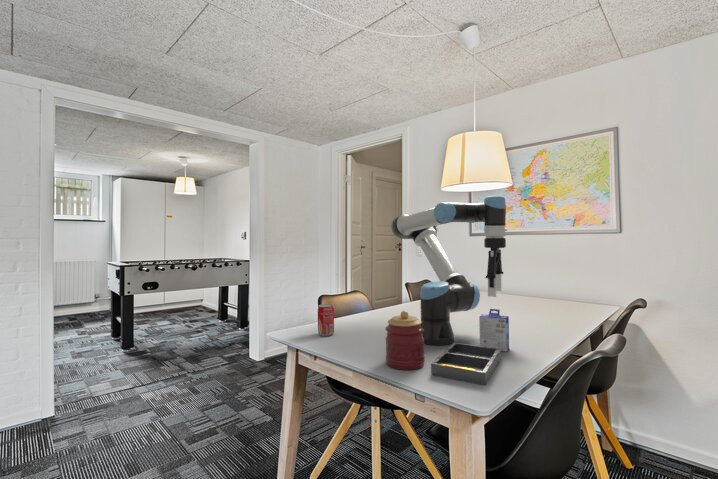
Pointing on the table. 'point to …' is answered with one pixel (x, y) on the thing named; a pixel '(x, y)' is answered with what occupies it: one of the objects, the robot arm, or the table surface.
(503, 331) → the ink cartridge box
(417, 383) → the table surface
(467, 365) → the tray
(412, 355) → the canister
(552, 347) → the table surface
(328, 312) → the soda can
